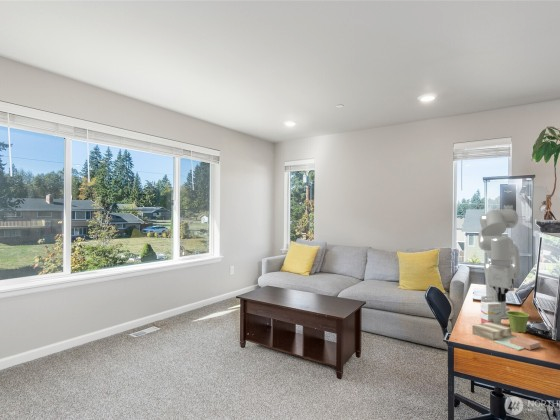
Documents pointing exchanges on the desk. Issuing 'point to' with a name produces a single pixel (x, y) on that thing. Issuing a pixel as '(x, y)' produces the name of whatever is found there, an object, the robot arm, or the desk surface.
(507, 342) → the mat
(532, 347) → the coaster
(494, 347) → the desk surface
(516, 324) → the plant pot
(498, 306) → the ink cartridge box
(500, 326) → the block
